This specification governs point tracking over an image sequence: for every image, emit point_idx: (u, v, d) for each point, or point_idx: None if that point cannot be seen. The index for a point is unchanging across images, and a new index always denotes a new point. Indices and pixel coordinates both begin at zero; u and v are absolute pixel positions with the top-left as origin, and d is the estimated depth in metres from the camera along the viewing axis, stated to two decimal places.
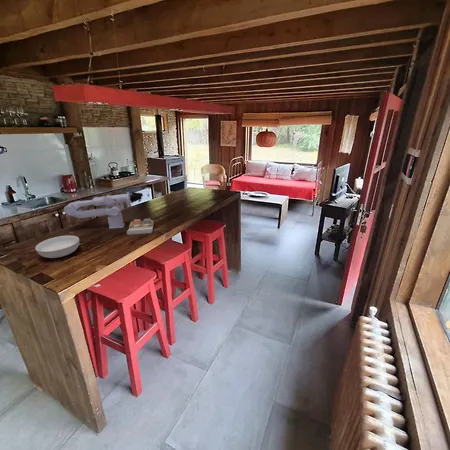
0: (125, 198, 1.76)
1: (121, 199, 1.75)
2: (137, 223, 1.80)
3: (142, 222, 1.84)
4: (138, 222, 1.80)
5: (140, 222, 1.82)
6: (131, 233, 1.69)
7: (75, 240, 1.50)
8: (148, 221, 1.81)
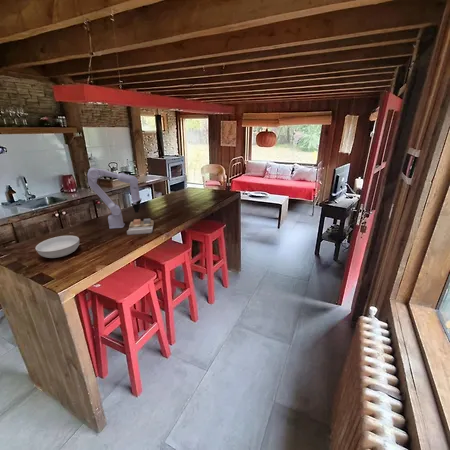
0: (135, 197, 1.81)
1: (134, 194, 1.80)
2: (137, 223, 1.80)
3: (142, 222, 1.84)
4: (138, 222, 1.80)
5: (140, 222, 1.82)
6: (131, 233, 1.69)
7: (75, 240, 1.50)
8: (148, 221, 1.81)
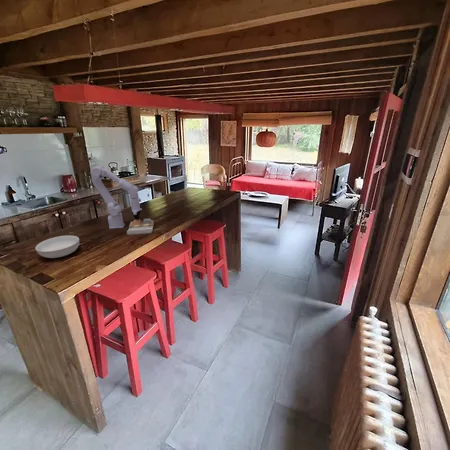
0: (135, 207, 1.78)
1: (134, 204, 1.77)
2: (137, 223, 1.79)
3: (142, 222, 1.84)
4: (138, 222, 1.79)
5: (140, 222, 1.82)
6: (131, 233, 1.69)
7: (75, 240, 1.50)
8: (148, 221, 1.81)
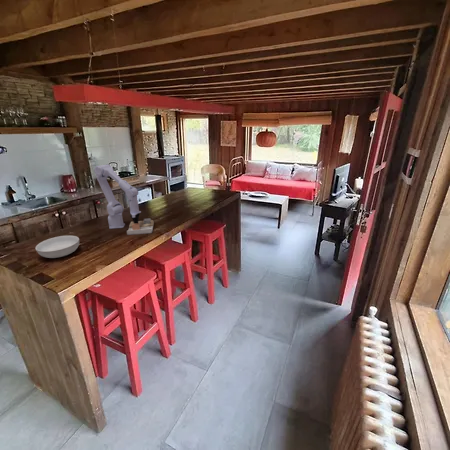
0: (134, 210, 1.72)
1: (133, 206, 1.71)
2: None
3: (142, 222, 1.84)
4: None
5: (139, 226, 1.76)
6: (131, 233, 1.69)
7: (75, 240, 1.50)
8: (148, 221, 1.81)
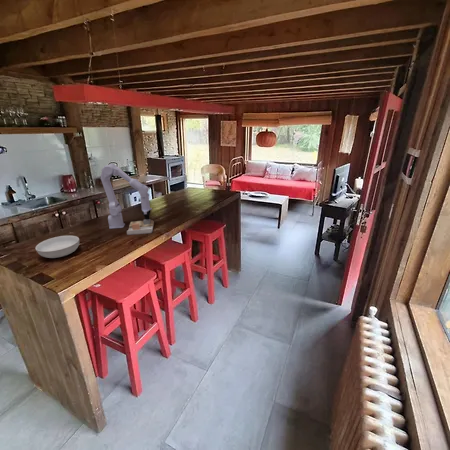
0: (145, 207, 1.79)
1: (144, 203, 1.77)
2: None
3: (142, 222, 1.84)
4: None
5: (139, 226, 1.76)
6: (131, 233, 1.69)
7: (75, 240, 1.50)
8: (148, 222, 1.80)
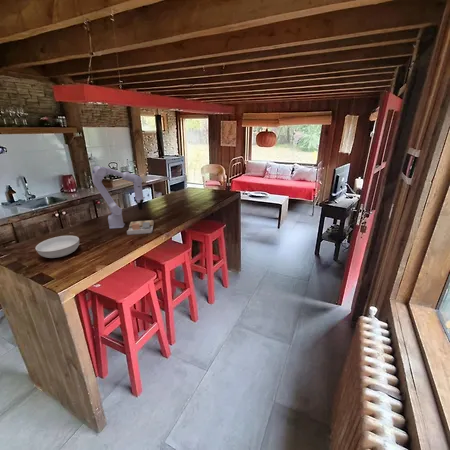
0: (139, 196, 1.85)
1: (138, 192, 1.84)
2: None
3: (142, 222, 1.84)
4: None
5: (139, 226, 1.76)
6: (131, 233, 1.69)
7: (75, 240, 1.50)
8: (147, 227, 1.75)
